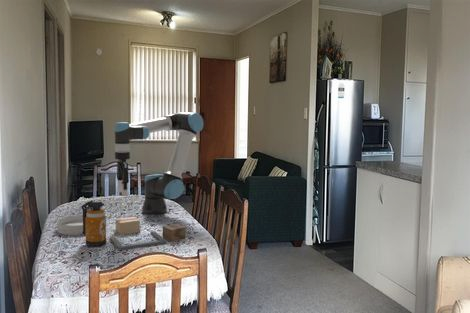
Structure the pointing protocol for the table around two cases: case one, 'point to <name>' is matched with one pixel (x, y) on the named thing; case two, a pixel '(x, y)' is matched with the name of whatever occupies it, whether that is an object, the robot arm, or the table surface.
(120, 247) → the dark grey flat u-shape
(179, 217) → the table surface
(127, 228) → the carton
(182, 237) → the walnut box
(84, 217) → the canister
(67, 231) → the dish
